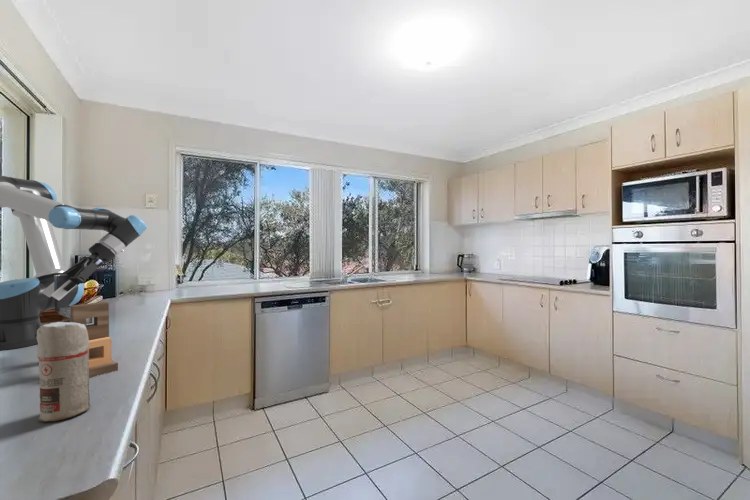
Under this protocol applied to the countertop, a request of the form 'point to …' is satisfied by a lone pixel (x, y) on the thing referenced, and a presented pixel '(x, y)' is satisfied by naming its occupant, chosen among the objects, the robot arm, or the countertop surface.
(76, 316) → the rail base
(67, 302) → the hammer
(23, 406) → the countertop surface
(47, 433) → the countertop surface
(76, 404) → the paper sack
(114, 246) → the robot arm
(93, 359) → the collar
